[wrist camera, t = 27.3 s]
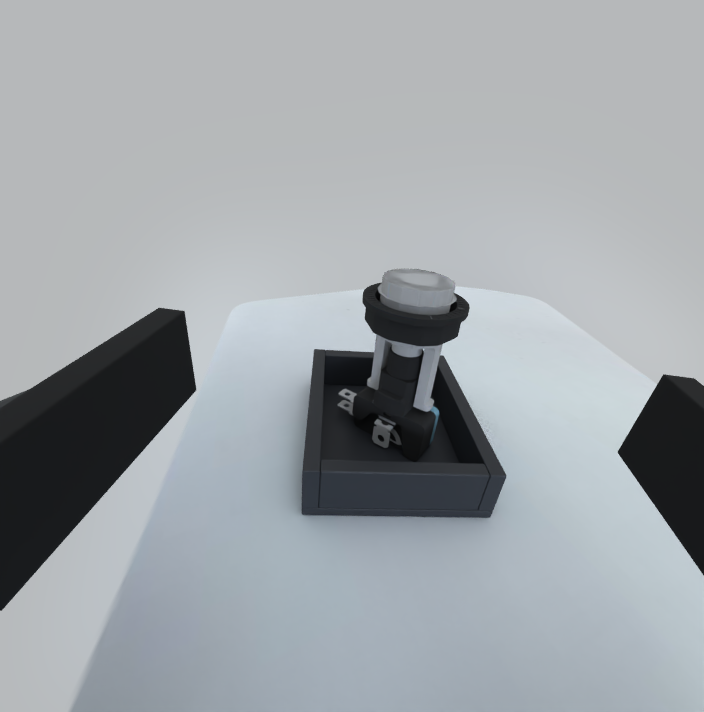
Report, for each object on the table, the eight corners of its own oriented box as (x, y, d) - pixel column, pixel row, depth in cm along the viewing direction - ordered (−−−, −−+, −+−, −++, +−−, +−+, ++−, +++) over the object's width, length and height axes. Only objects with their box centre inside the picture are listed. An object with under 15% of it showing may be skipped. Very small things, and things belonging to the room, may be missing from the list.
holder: (301, 514, 18) (302, 471, 17) (313, 383, 28) (314, 349, 27) (490, 517, 19) (507, 476, 17) (436, 388, 29) (443, 355, 28)
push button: (315, 428, 23) (321, 271, 18) (362, 391, 27) (377, 253, 22) (410, 481, 20) (449, 308, 15) (448, 431, 24) (488, 280, 19)
